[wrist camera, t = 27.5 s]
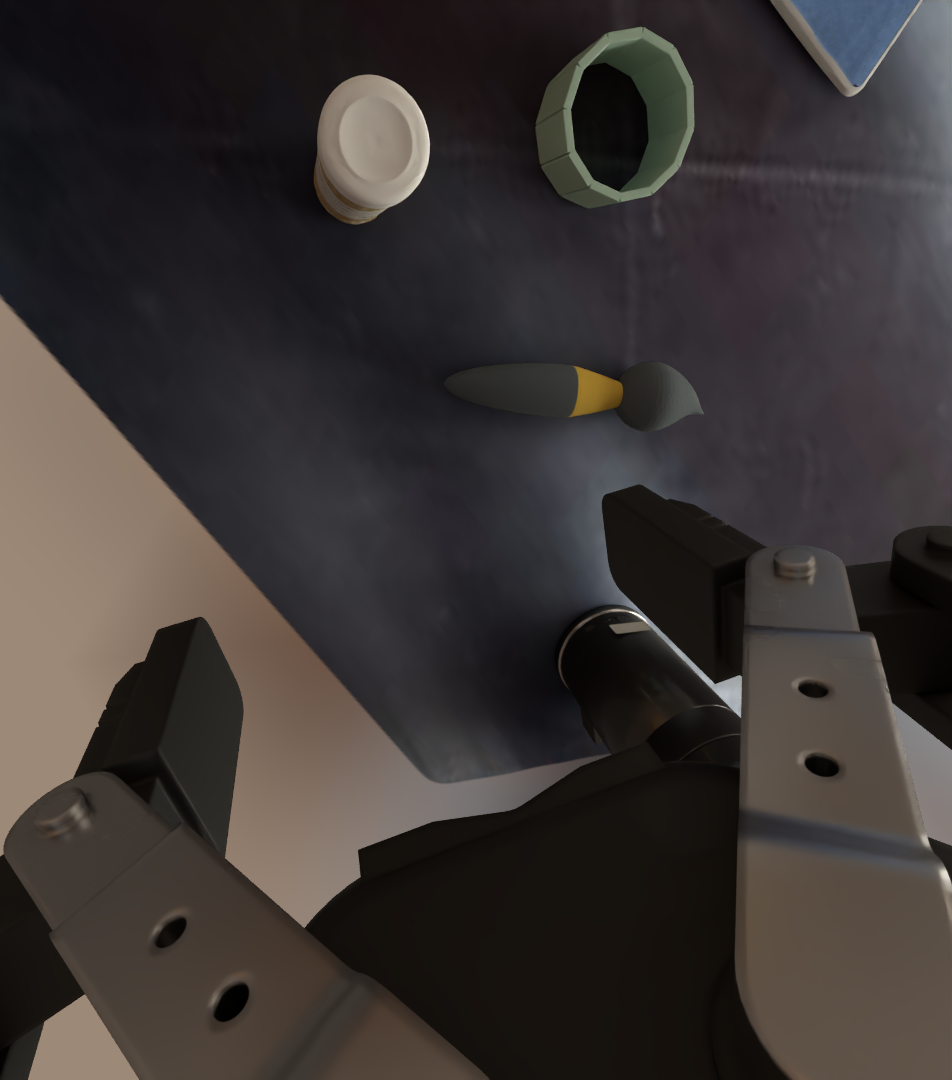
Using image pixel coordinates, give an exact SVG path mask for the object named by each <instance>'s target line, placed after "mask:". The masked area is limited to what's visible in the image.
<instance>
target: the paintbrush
mask: <svg viewBox="0 0 952 1080" xmlns="http://www.w3.org/2000/svg"><path fill="white" fill-rule="evenodd" d="M444 385H445V387H446V389H447V390H448V391H450V392H451V393H452V394H454V395H456V396H457V397H459V398H462V399H464V400H467V401H469V402H472V403H476V404H479V405H482V406H486V407H490V408H495V409H500V410H504V411H510V412H516V413H521V414H529V415H537V416H548V417H573V416H579V415H585V414H590V413H595V412H599V411H604V410H608V409H612V408H615V410H616V412H617V414H618V416H619V417H620V418H621V420H622V421H623V422H624V423H626V424H627V425H628V426H630V427H632V428H634V429H636V430H640V431H646V432H648V431H655V430H659V429H662V428H664V427H667V426H669V425H671V424H672V423H674V422H676V421H678V420H679V419H681V418H683V417H684V416H687V415H689V414H700V415H704V413H703V411H702V409H701V406H700V403H699V400H698V397H697V395H696V393H695V391H694V389H693V388H692V386H691V385H690V383H689V382H688V381H687V380H686V379H685V378H684V377H683V376H682V375H681V374H680V373H679V372H678V371H676V370H675V369H673V368H672V367H670V366H668V365H666V364H663V363H660V362H654V361H649V362H643V363H639V364H637V365H635V366H633V367H631V368H629V369H628V370H627V371H626V372H624V373H623V374H622V376H621V377H620V378H619V380H618V381H616V380H613V379H611V378H608V377H606V376H603V375H600V374H598V373H595V372H592V371H589V370H586V369H583V368H580V367H576V366H572V365H565V364H550V363H518V364H501V365H490V366H482V367H477V368H472V369H467V370H464V371H460V372H458V373H455V374H453V375H451V376H450V377H448V378H447V379H446V380H445V382H444Z"/></svg>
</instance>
